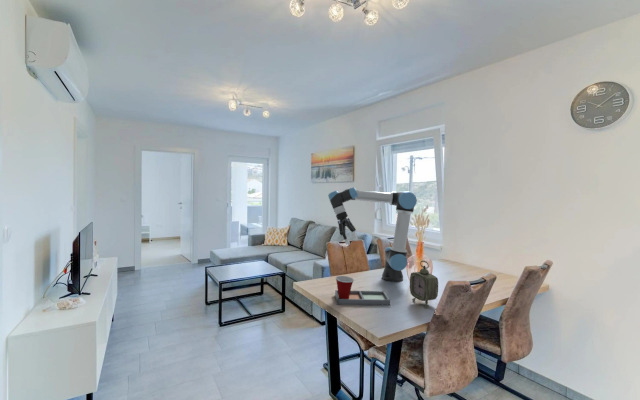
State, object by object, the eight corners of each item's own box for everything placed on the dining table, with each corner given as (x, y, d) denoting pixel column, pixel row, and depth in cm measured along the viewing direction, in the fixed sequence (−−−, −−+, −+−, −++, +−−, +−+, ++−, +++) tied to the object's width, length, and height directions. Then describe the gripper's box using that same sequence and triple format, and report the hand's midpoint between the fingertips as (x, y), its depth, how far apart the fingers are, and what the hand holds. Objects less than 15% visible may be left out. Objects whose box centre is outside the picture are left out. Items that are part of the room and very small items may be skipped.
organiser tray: (383, 295, 187) (384, 291, 187) (390, 305, 172) (390, 300, 171) (335, 295, 186) (335, 290, 186) (337, 304, 171) (337, 299, 171)
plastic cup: (351, 302, 171) (351, 281, 171) (332, 300, 174) (333, 279, 174) (355, 296, 181) (355, 276, 181) (337, 294, 185) (338, 274, 184)
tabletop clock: (409, 300, 180) (410, 258, 179) (421, 298, 183) (423, 257, 182) (425, 309, 166) (427, 264, 166) (439, 307, 170) (440, 263, 169)
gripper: (344, 213, 222) (355, 240, 219) (327, 216, 201) (339, 247, 197) (352, 209, 219) (364, 237, 215) (336, 212, 197) (349, 243, 194)
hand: (352, 242), depth 206 cm, fingers open, 13 cm apart
